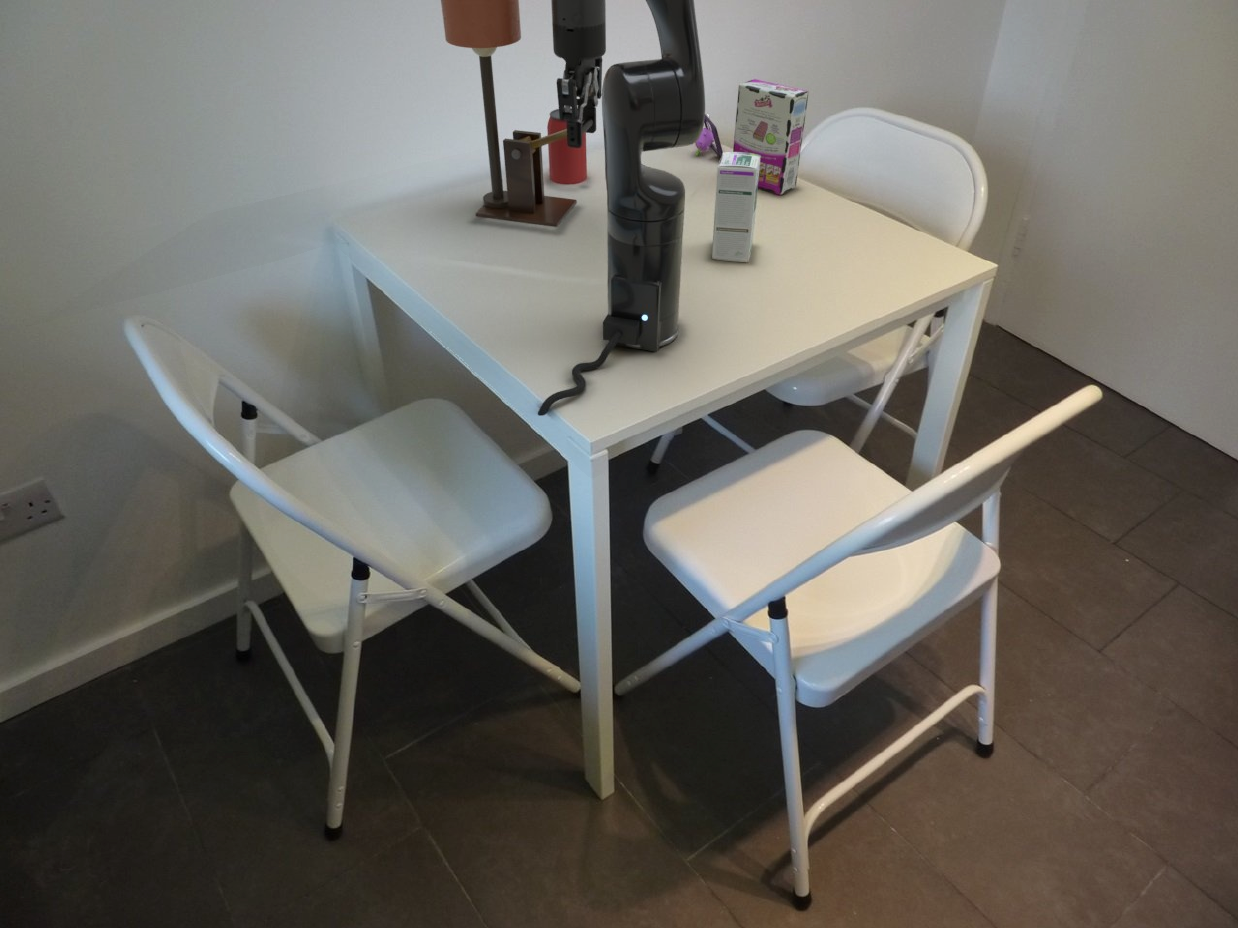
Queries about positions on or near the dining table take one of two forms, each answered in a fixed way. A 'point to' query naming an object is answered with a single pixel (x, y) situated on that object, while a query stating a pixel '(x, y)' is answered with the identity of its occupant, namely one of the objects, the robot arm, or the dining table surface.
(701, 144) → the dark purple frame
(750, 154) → the syrup box
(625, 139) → the robot arm
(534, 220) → the lamp base
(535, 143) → the switch
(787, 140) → the candy bar box
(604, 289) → the dining table surface
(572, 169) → the beer can
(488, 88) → the lamp
